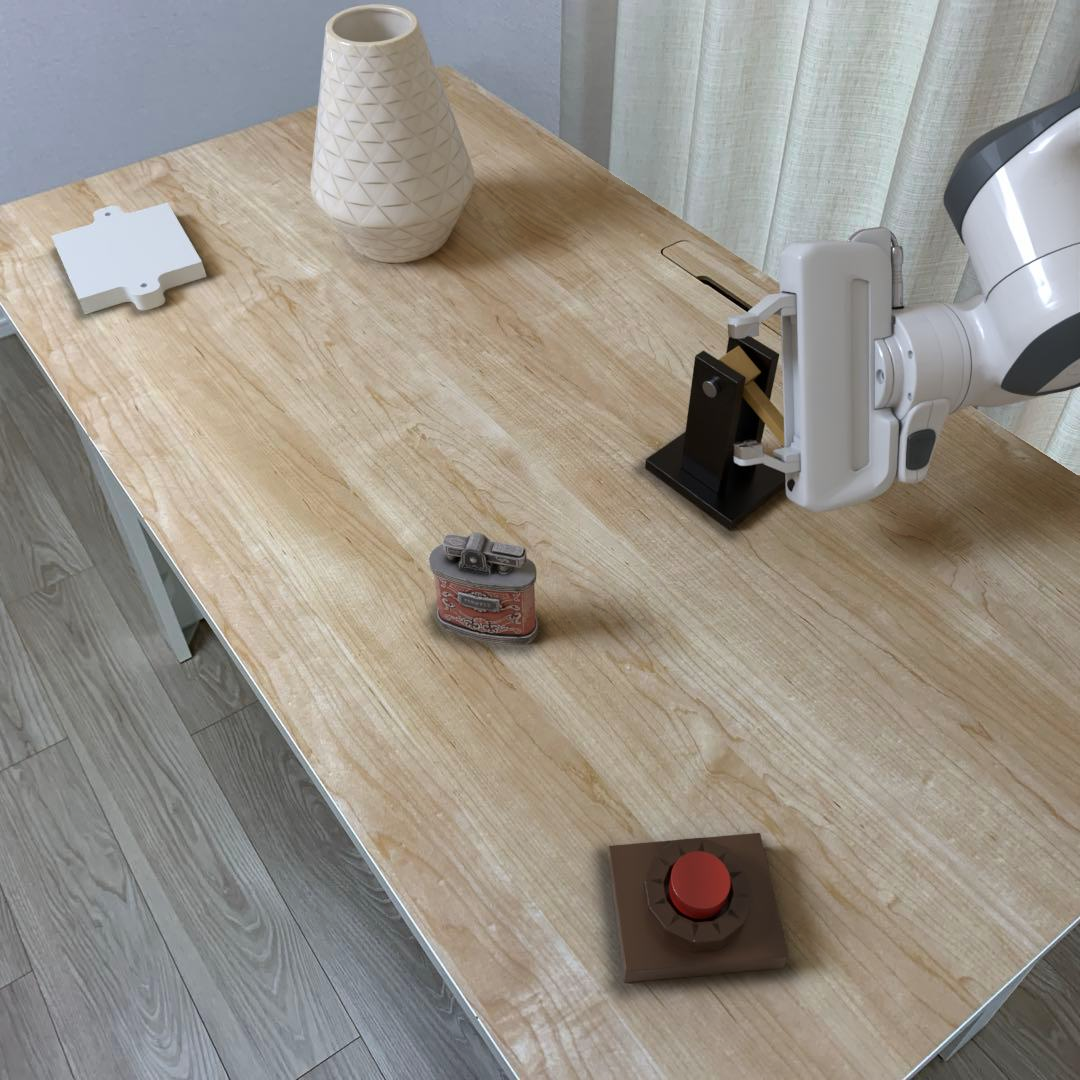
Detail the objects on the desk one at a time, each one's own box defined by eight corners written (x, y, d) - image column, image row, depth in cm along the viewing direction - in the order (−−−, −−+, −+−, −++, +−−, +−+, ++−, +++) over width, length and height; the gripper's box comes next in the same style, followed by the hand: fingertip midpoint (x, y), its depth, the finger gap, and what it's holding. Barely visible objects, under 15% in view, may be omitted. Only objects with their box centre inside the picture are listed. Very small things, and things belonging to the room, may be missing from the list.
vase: (444, 294, 110) (422, 79, 92) (294, 265, 113) (245, 53, 96) (499, 204, 120) (489, -4, 102) (360, 181, 124) (327, -25, 106)
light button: (720, 860, 66) (724, 848, 65) (732, 916, 64) (736, 905, 62) (664, 864, 66) (666, 853, 65) (673, 921, 64) (676, 911, 62)
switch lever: (834, 464, 84) (850, 452, 82) (790, 499, 82) (805, 487, 80) (739, 351, 85) (752, 336, 83) (693, 381, 83) (706, 367, 81)
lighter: (432, 631, 82) (419, 550, 74) (445, 597, 84) (433, 515, 76) (532, 650, 81) (529, 570, 73) (542, 615, 83) (540, 534, 75)
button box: (755, 846, 70) (764, 820, 67) (782, 968, 65) (793, 946, 62) (607, 859, 70) (609, 833, 67) (623, 983, 65) (626, 961, 62)
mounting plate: (52, 239, 117) (45, 224, 116) (166, 206, 121) (161, 191, 119) (90, 327, 107) (84, 312, 105) (213, 289, 111) (209, 274, 109)
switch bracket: (790, 484, 92) (820, 362, 81) (729, 531, 88) (752, 410, 78) (705, 425, 96) (723, 303, 86) (644, 468, 93) (655, 347, 82)
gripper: (928, 224, 73) (746, 249, 71) (923, 501, 80) (757, 533, 77) (878, 222, 79) (709, 245, 76) (878, 480, 86) (722, 510, 83)
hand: (733, 392), depth 77 cm, fingers open, 8 cm apart
